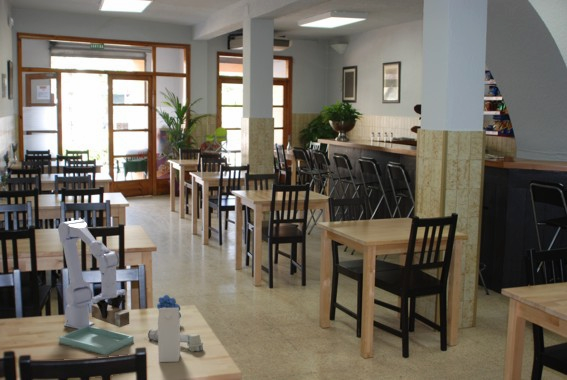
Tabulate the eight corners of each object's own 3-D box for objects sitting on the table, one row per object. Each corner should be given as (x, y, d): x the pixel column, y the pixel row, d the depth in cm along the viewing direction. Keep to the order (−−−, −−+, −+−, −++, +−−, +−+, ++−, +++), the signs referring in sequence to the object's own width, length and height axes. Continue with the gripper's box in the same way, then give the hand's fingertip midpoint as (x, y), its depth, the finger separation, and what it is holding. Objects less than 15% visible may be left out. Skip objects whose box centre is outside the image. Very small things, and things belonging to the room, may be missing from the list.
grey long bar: (155, 327, 253) (204, 330, 240) (157, 343, 253) (206, 347, 240) (146, 331, 248) (196, 334, 236) (148, 347, 249) (198, 352, 236)
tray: (59, 343, 245) (59, 337, 245) (88, 331, 258) (88, 325, 258) (105, 355, 234) (105, 348, 233) (133, 342, 247) (133, 336, 246)
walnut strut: (91, 316, 255) (91, 304, 254) (101, 314, 259) (100, 302, 258) (119, 327, 244) (119, 314, 243) (129, 324, 248) (129, 311, 247)
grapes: (151, 323, 267) (151, 296, 266) (161, 318, 274) (160, 291, 272) (174, 327, 263) (174, 299, 261) (183, 322, 269) (183, 295, 267)
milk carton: (160, 354, 235) (159, 305, 232) (180, 354, 235) (179, 304, 233) (158, 362, 228) (157, 311, 225) (178, 362, 228) (177, 311, 226)
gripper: (99, 288, 241) (100, 323, 243) (130, 280, 253) (131, 313, 254) (88, 285, 246) (89, 319, 247) (119, 277, 257) (120, 310, 259)
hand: (109, 316), depth 251 cm, fingers closed on walnut strut, 4 cm apart
